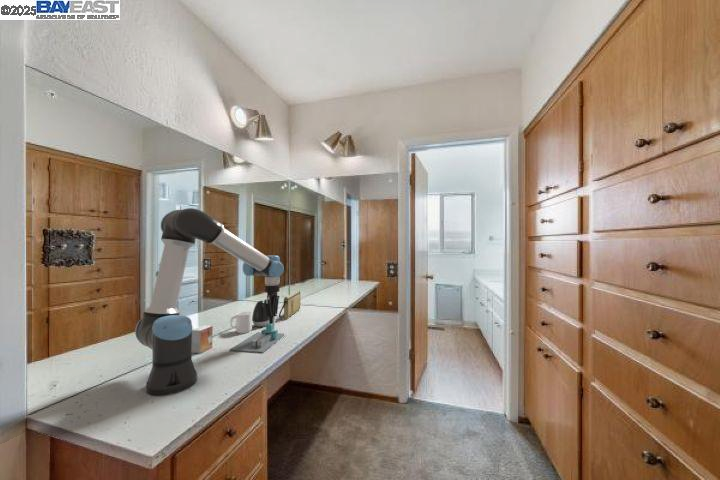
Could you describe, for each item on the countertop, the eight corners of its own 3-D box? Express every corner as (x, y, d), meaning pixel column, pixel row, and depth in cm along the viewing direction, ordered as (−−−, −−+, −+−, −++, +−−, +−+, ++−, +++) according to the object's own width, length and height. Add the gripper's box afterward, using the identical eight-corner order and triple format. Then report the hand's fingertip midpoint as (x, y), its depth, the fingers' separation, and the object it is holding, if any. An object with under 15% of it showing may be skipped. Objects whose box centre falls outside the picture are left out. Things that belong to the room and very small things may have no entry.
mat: (263, 353, 129) (263, 351, 129) (229, 350, 131) (229, 349, 131) (286, 334, 154) (286, 333, 154) (257, 333, 157) (257, 332, 157)
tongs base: (272, 335, 151) (272, 330, 151) (277, 335, 151) (277, 330, 151) (254, 347, 134) (254, 341, 134) (261, 348, 133) (261, 341, 133)
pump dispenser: (266, 328, 167) (266, 302, 167) (249, 328, 167) (249, 302, 167) (272, 323, 177) (272, 299, 177) (255, 323, 177) (256, 299, 177)
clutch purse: (292, 309, 213) (292, 289, 214) (301, 309, 213) (301, 290, 213) (276, 320, 184) (276, 297, 184) (286, 320, 183) (286, 297, 183)
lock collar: (263, 337, 148) (263, 323, 149) (277, 338, 147) (277, 323, 147) (261, 338, 146) (261, 324, 146) (275, 339, 145) (275, 325, 145)
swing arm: (267, 336, 149) (267, 331, 149) (270, 337, 148) (270, 331, 149) (251, 347, 134) (251, 341, 134) (255, 347, 134) (255, 341, 134)
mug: (226, 333, 157) (226, 315, 157) (233, 329, 165) (233, 311, 165) (248, 333, 157) (248, 315, 157) (254, 329, 165) (254, 311, 165)
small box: (200, 353, 128) (200, 330, 128) (189, 352, 129) (189, 329, 129) (212, 347, 136) (213, 325, 136) (202, 346, 137) (202, 324, 137)
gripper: (273, 286, 143) (273, 333, 143) (284, 283, 156) (283, 325, 155) (259, 286, 144) (259, 332, 144) (271, 282, 157) (271, 325, 157)
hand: (272, 328), depth 150 cm, fingers closed
